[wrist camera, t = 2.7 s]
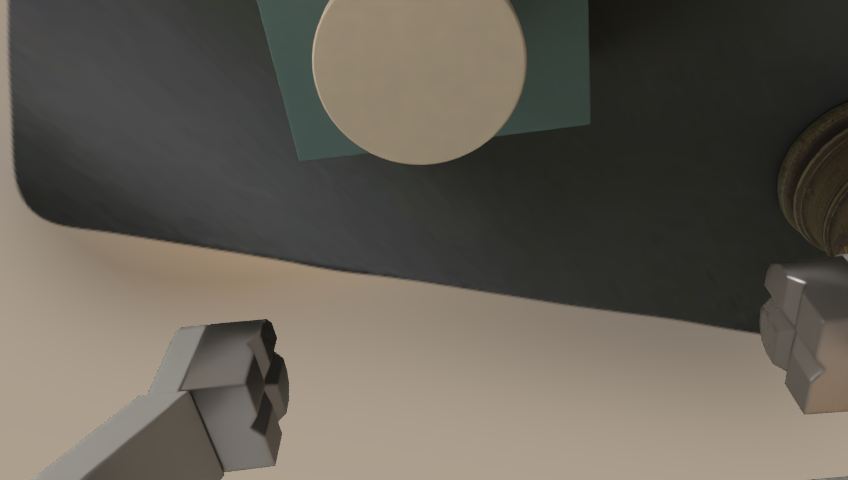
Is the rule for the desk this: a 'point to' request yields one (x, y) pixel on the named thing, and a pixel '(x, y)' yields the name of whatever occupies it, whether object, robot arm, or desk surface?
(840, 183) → the container
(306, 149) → the lidded square case
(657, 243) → the desk surface
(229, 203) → the desk surface
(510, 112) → the canister
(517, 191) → the desk surface
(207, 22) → the desk surface
